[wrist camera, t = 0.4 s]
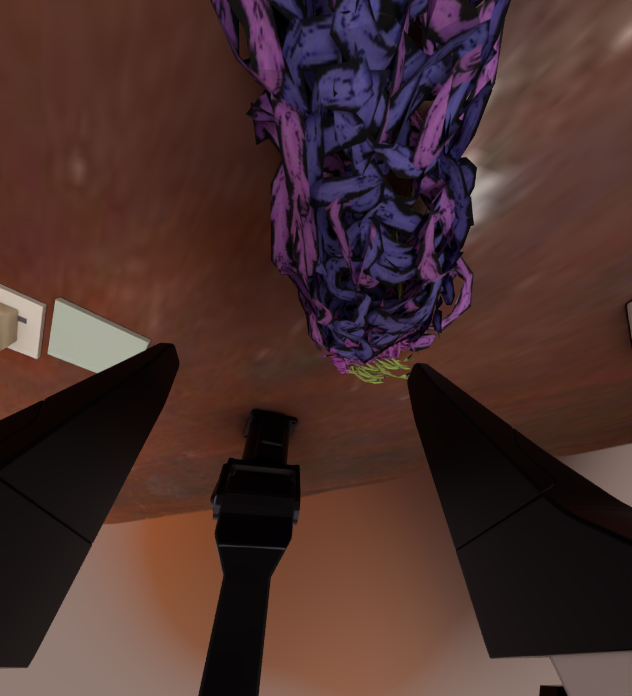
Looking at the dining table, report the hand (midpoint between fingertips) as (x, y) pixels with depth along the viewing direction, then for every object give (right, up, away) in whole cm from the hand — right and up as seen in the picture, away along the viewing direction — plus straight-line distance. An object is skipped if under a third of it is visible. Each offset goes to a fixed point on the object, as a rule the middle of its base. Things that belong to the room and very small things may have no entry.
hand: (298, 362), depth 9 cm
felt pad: (-22, +1, +17) cm, 28 cm away
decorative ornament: (+4, +11, +10) cm, 15 cm away
